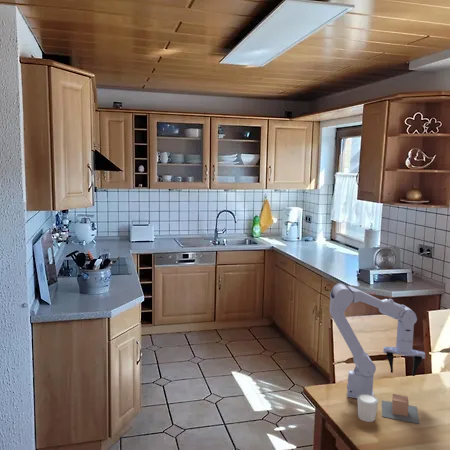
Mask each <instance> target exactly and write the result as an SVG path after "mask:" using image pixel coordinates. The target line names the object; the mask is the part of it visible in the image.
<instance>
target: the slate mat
mask: <svg viewBox="0 0 450 450" xmlns="http://www.w3.org/2000/svg"><path fill="white" fill-rule="evenodd" d="M381 417H382V418H385V419H391V420H396V421H402V422H408V423H413V424H417V425H418V424H419V425H420V419H419V418H420V417H419V413H418V407H417V406H416V405H410V404H409V405H408V416H403V415H397V414H392V401H387V400H381Z"/></svg>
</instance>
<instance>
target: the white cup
mask: <svg viewBox="0 0 450 450" xmlns="http://www.w3.org/2000/svg"><path fill="white" fill-rule="evenodd" d="M356 400H357V417H358V419H360V420H361V421H363V422H367V423H373V422H374V421H375V420H376V416H377V409H378V403H379V399H378V398H377V397H376V396H374V395H373V396H372V395H369V394H360V395H358V396H357V398H356Z"/></svg>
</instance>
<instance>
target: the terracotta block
mask: <svg viewBox="0 0 450 450" xmlns="http://www.w3.org/2000/svg"><path fill="white" fill-rule="evenodd" d="M391 399H392V401H391V402H392V414H397V415H403V416H408V405H410V404H409V403H410V401H409V396H408V395H401V394H396V393H392V398H391Z"/></svg>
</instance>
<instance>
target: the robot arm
mask: <svg viewBox="0 0 450 450" xmlns="http://www.w3.org/2000/svg"><path fill="white" fill-rule="evenodd" d="M359 302H361V303H364V304H367V305H369V306H372V307H375V308H376V309H377V308H378V310H379V311H378V312H379V313H381V314H382V315H385V316H387V317H390V318H392V319H395V320H397V326H396V327H397V328H396V330H397V331H396V340H395V341H396V342H395V343H396V344H395V346H383V354H386V358H387V360H388V364H389V367H390V373H392V374H393V373H394V355H399V356H403V357H413V364H412V370H411V371H412V372H411V375H412V377H415V376H416V372H417V370H418V368H419V366H420V365H421V364H422V362H423V359H424V360H425V359H426V353H425V351H421V350H416V349H413V345H414V344H413V343H414V330H415V324H416V323H417V321H418V318H417V314H416V312H415V311H413V310H412V309H411V308H410V307H408V306H406V305H405V304H400V303H397V302H395V301H394V299H392V298H384V299H379V298H378V297H375V296H374V295H372V294H369V293H367V292H365V291H362V290H360V289H359V288H356V287H353V286H351V285H345V284H343V283H335V285H333V287H332V289H331V291H330V293H329V307H328V308H329V311H328V312H329V314H330V316H331V318H332V319H333V321H334V323H335V326H336V327H337V329H338V330H339V333H340V334H341V337H342V338H343V340H344V342H345V344H346V345H347V348H348V349H349V351H350V353H351V355H352V358H353V359H352V361H353V363H354V364H355V367H354V369H353V370H349V369H348V375H347V376H348V377H347V384H346V390H347V393H346V395H347V397H348V398H353V399H357V396H358V395H360V394H369V395H372V396H374V394H375V393H374V392H375V391H374V389H373V388H374V376H375V375H374V374H375V373H376V370H377V368H376V364H375V363H374V362H373V361H372V359H371V358H370V356H369V354H368V353H366V352H365V350H364V349H363V346H362V344H361V343H360V341H359V340H358V339H359V338H357V335H356V334H355V332H354V330H353V328H352V326H351V324H350V322H349V321H348V319H347V317H346V315H345V312H346V310H347V308H348V307H350V305H351V304H352V303H354V304H357V303H359Z"/></svg>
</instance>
